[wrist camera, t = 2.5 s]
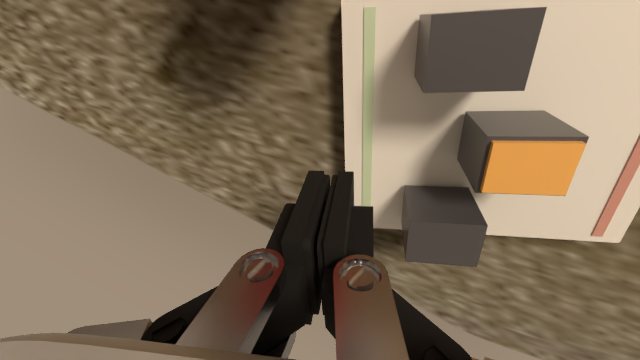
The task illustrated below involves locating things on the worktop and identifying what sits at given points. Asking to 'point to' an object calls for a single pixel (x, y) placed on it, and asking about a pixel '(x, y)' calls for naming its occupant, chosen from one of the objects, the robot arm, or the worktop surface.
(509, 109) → the breaker panel
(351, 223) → the robot arm
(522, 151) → the block
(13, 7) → the worktop surface
